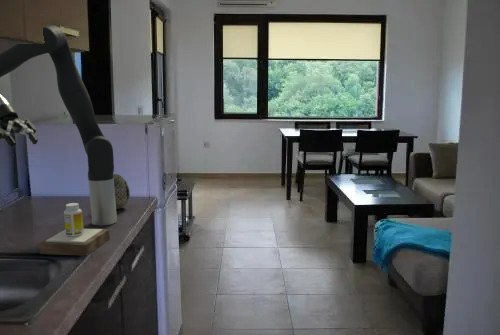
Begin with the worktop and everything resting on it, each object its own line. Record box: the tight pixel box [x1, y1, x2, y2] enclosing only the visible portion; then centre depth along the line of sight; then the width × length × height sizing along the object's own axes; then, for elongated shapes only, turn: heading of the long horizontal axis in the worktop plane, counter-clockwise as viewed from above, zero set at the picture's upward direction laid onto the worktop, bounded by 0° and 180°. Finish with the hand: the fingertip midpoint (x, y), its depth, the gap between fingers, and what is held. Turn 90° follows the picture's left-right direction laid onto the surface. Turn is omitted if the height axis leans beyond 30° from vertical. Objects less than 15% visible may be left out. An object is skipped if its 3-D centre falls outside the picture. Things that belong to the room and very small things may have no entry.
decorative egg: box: [113, 173, 131, 210], centre depth 206 cm, size 12×12×15 cm
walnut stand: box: [38, 228, 111, 256], centre depth 161 cm, size 16×16×4 cm
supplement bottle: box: [63, 202, 84, 237], centre depth 159 cm, size 6×6×10 cm
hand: (25, 144), depth 169 cm, fingers open, 8 cm apart
